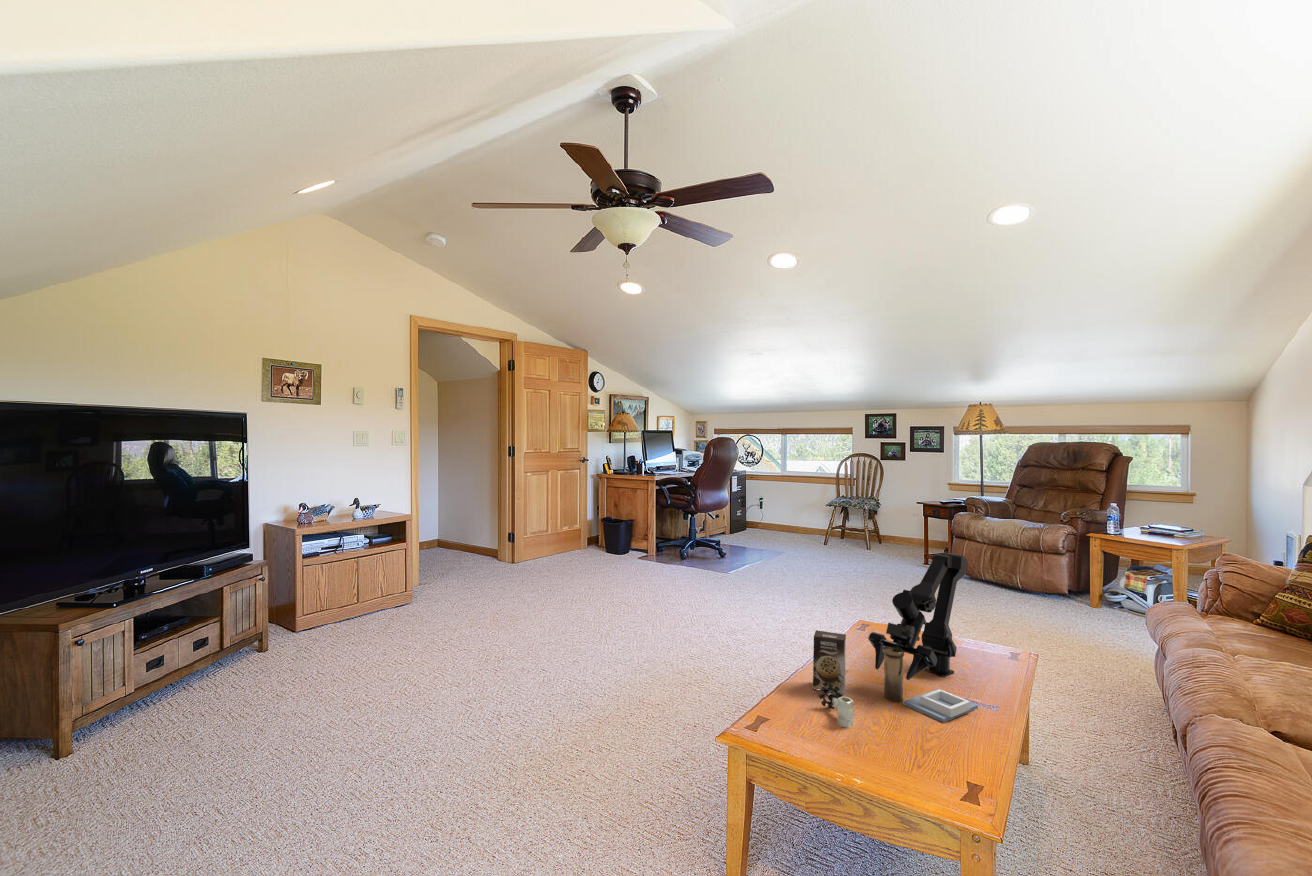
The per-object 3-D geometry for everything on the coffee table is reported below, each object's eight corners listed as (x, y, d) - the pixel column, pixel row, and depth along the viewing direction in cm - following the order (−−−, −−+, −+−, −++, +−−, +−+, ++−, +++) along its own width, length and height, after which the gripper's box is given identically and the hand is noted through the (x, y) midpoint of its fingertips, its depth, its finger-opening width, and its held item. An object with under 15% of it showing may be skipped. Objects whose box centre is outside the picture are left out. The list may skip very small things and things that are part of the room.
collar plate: (937, 692, 168) (937, 681, 168) (979, 709, 157) (979, 697, 157) (903, 704, 160) (903, 693, 160) (945, 723, 149) (945, 711, 149)
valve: (861, 728, 147) (840, 706, 159) (861, 702, 147) (840, 683, 159) (836, 729, 146) (818, 707, 158) (836, 703, 146) (818, 683, 158)
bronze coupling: (891, 692, 168) (891, 644, 168) (908, 699, 163) (908, 651, 163) (878, 696, 165) (878, 648, 165) (895, 704, 160) (895, 654, 160)
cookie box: (812, 690, 169) (812, 635, 169) (814, 681, 175) (815, 629, 175) (844, 695, 166) (844, 640, 166) (845, 686, 172) (846, 633, 172)
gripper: (871, 605, 174) (851, 649, 167) (932, 620, 160) (914, 668, 152) (884, 625, 179) (865, 669, 172) (945, 642, 165) (927, 690, 157)
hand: (891, 673), depth 163 cm, fingers open, 9 cm apart
